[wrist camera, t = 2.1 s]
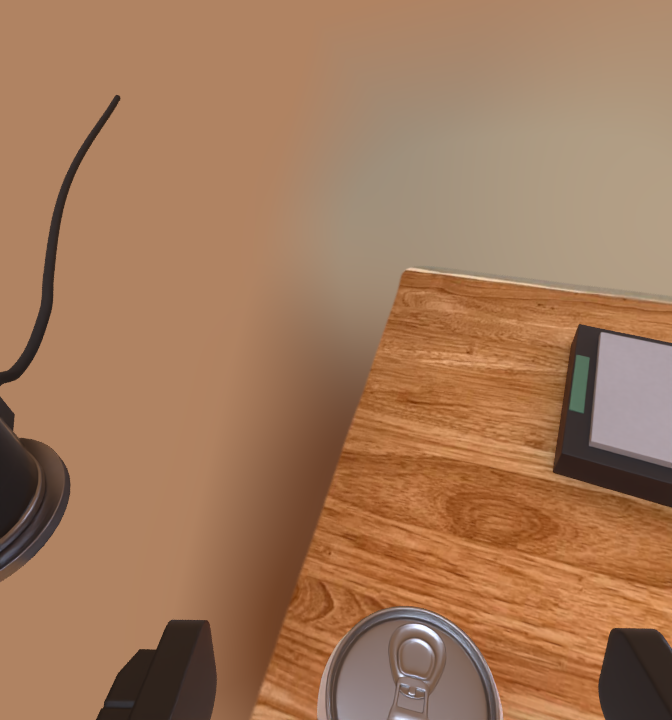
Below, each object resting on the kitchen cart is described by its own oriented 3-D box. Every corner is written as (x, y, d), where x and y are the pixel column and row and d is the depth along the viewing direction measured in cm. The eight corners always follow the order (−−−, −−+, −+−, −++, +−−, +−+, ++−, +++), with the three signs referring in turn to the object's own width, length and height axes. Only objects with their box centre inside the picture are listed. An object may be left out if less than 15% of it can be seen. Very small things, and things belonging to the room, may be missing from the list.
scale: (552, 472, 35) (563, 447, 33) (571, 344, 44) (581, 318, 42) (791, 543, 31) (822, 519, 29) (759, 385, 40) (780, 358, 38)
